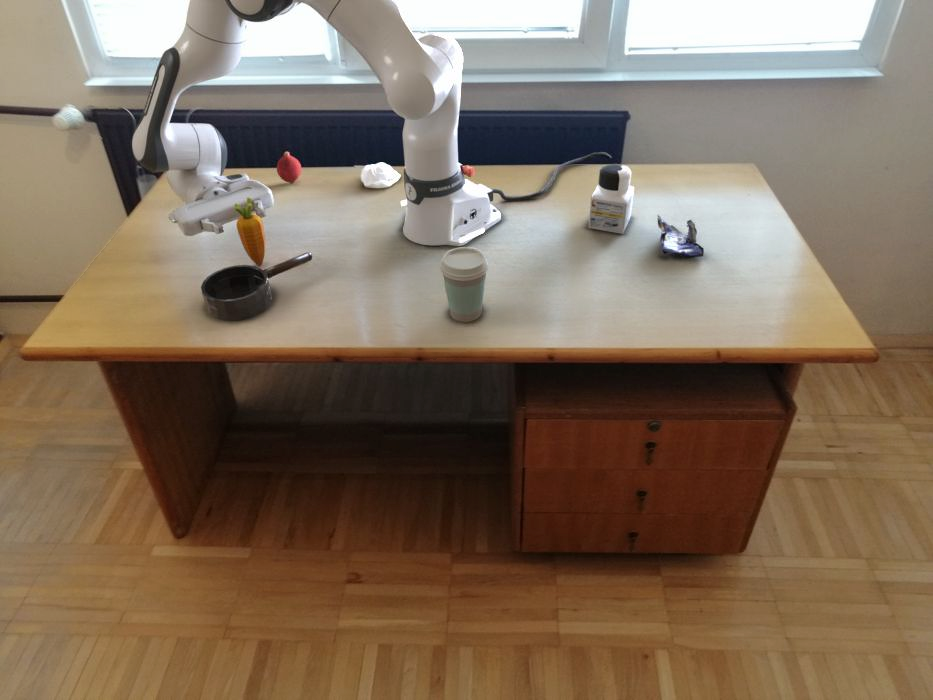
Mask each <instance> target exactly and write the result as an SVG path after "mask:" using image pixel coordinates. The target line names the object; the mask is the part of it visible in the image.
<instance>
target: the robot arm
mask: <svg viewBox="0 0 933 700" xmlns="http://www.w3.org/2000/svg"><path fill="white" fill-rule="evenodd" d="M300 4H304V5H307V6H308V7H310V8H312V9H313V10H314V11H315V12H316V13H317V14H318V15H320V17H322V18H323V19H324V21H326V23H328V24H329V25H330V26H331V28H333V29H334V30H335V31H336V32H337V33H338V34H339V35H340V36H341V37H342V38H343V39H344V40H345V41H346V42H347V43H349V44H350V46H352V47H353V48H354V49H355V51H356V52H358V54H359V55H360V56H361V57H362V58H363V60H364V61H365V62H366V64H367V65H368V67H369V68H370V69H371V71H372V72H373V73H374V75H375V76H376V78H377V80H378V81H379V83H380V85H381V86H382V88H383V91H384V93H385V98H386V100H387V103H388V106H389V107H390V108H391V110H392V111H393V112H394V113H395V114H397V116H399V117H401V118H403V119H404V124H403V129H402V147H403V158H404V160H403V161H404V169H403V184H404V192H405V197H406V199H404V200H401V201H400V205H401V207H403V206H405V216H404V222H403V226H402V234H403V236H404V237H405V238H406V239H408V240H409V241H411V242H413V243H416V244H417V245H418V244H419V245H422V246H423V245H424V246H453V247H463V246H464V245H466V244H467V243H469V242H470V241H472V240H473V239H475V238H477V237H478V236H479V235H481V234H484V233H485V231H487V230H488V229H490V228H491V227H493V226H494V225H495V224H497V223H499V222H500V221H502V214H501V212H500V211H499V209H498V208H496V207H495V206H494V205H492V204H491V202H493V201H494V194H498V195H499V196H500V198H501V199H502V200H504V201H511V202H512V201H526V200H531V199H535V198H538V197H540V196H542V195H543V194H545V193H547V191H548V190H549V189H550V187H551V186H552V184H553V183H554V181H555V180H556V177H557V174H558V173H559V172H560V171H561V170H562V169H564V168H566V167H569V166H570V165H571V166H572V165H575V164H577V163H582V162H584V161H586V160H589V159H592V158H595V157H605V158H607V159H612V156H611V155H610V154H609V153H607V152H603V151H598V152H593V153H590V154H588V155H584V156H582V157H579V158H576V159H575V158H574V159H572V160H569V161H566V162H563V163H562V164H560V165H559V166H557V167H556V168H555V169H554V171H553V172H552V175H551V177H550V179H549V180H548V182H547V183H546V185H545V186H544V187H543V189H541V190H540V191H537V192H534V193H531V194H527V195H522V196H509V195H505V193H504V192H503V190H501V189H498V188H489V187H487V186H486V185H483V184H482V183H478V184H476V183H474V182H472V181H471V180H469V179H467V178H466V177H465V176H467V177H468V178H472V177H473V176H474V175H475V171H476V170H475V169H474V167H471V166H469V165H464V166H463V164H462V163H460V162H459V150H458V149H459V146H458V145H459V144H458V142H459V141H458V128H459V116H460V106H461V92H462V72H463V63H464V55H463V52H462V48H461V47H460V45H459V43H458V42H457V41H456V39H455V38H453V37H452V36H450V35H449V34H446V33H442V32H434V33H429V34H426V35H424V36H421V37H420V38H417V37H416V35H415V34H414V33H413V31H412V30H411V28H410V27H409V25H408V24H407V21H406V20H405V17H403V13H402V10H401V7H400V6H399V5H398V3H397V2H396V1H394V0H189V3H188V7H187V12H186V18H185V19H186V20H185V24H184V27H183V32H182V33H181V34H180V37H178V39H177V41H176V42H175V43H174V45H172V47H170V48H168V49H166V50H165V51H164V52H163V53H162V55H161V57H160V59H159V61H158V65H157V68H156V70H155V73H154V76H153V79H152V82H151V85H150V88H149V92H148V96H147V98H146V102H145V104H144V107H143V111H142V115H141V117H140V120H139V121H138V123H137V125H136V126H135V129H134V130H133V133H132V138H131V148H132V154H133V158H134V159H135V160H136V162H138V164H140V165H141V167H143V168H144V169H146V170H147V171H149V172H151V173H162V172H166V179H167V182H168V184H169V186H170V189H171V190H172V191H173V193H174V194H175V195H176V196H177V198H178V199H180V200H181V201H182V202H183V203H185V204H183V205H180V206H178V207H176V208H175V209H174V210H172V212H170V214H168V219H169V221H171V222H172V223H173V224H177V226H178V229H179V230H180V231H181V233H182V234H183V235H184V236H186V237H193V236H196V235H198V234H202V233H203V232H207V233H215V234H216V235H220V234H222V233H224V232H225V229H224V226H223V225H225V224H226V225H227V224H228V223H231V222H233V221H238V218H239V217H241V216H242V215H241V214H240V213H239V212H238V211H237V210H235V203H236V204H238V205H239V206H240V207H241V209H242V210H243V207H244V208H245V210H246V206H247V197H250V198H251V201H252V208H251V214H255V215H257V216H259V217H260V218H261V219H262V218H265V217H267V213H266V209H270V208H272V207H274V203H275V201H274V196H273V192H272V190H271V188H270V187H268V186H266V184H264V183H262V182H261V181H258V180H256V179H252V178H251V179H250V178H249V176H248V174H246V173H244V172H243V173H237V174H230V175H223V174H224V171H225V170H226V167H227V163H228V146H227V143H226V140H225V139H224V137H223V135H222V134H221V132H220V131H219V130H218V129H217V128H216V127H215V126H214V125H212V124H211V123H202V122H201V123H198V122H197V123H196V122H188V123H187V122H186V123H185V122H171V120H172V119H171V118H172V116H173V113H174V110H175V107H176V104H177V101H178V99H179V97H180V95H181V94H182V93H183V92H184V91H186V90H187V89H188V88H191V87H192V86H195V85H198V84H200V83H204V82H207V81H211V80H215V79H219V78H222V77H224V76H227V75H228V74H230V73H231V72H233V71H234V70H235V69H237V67H238V65H239V64H240V62H241V59H242V57H243V54H244V50H245V44H246V40H247V39H246V38H247V33H248V28H249V23H250V22H251V23H262V22H263V23H264V22H268V21H271V20H272V19H274V18H276V17H279V16H283V15H285V14H287V13H288V12H290V11H291V10H293V9H294V8H295V7H297V6H299V5H300ZM243 212H244V211H243Z"/></svg>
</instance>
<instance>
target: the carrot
mask: <svg viewBox="0 0 933 700" xmlns="http://www.w3.org/2000/svg"><path fill="white" fill-rule="evenodd" d="M251 208H252V201H251V198H250V197H247V206H246V210H245V208H244V207H243V210H242V209H241V207H240V206H239V205H238V204H236V203H235V210H237V211H238V212H239V213H240V214H241V215H242V216H241V217H239V218H238V219H237V220H236V228H237V231H238V236H239V239H240V242H241V244H242V246H243V248H244V250H245V253H246V254H247V256H248V257H249V258H250V260H251V261H252V262H253V263H254V264H255V265H256V266H257V267H261V266H262V265H263V263H264V260H265V254H266V235H265V230H264V225H263V224H264V223H263V220H262V218H260V217H259V216H257V215H256V213H253V214H251ZM243 211H244V212H243Z"/></svg>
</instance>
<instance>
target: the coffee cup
mask: <svg viewBox="0 0 933 700" xmlns="http://www.w3.org/2000/svg"><path fill="white" fill-rule="evenodd" d="M439 270H440V272H441V274H442V277H443V282H444V288H445V293H446V298H447V304H448V309H449V315H450V317H451V318H452V319H453V320H455V321H457V322H461V323H468V322H473V321H475V320H478V319H479V318H480V317H481V315H482V311H483V302H484V294H485V287H486V286H485V285H486V278H487V272H488V270H489V264H488V260H487V258H486V255H485V254H484V252H483V251H482V250H480V249H478V248H474V247H470V246H458V247H455V248H451V249H449V250H447V251H446V252H445V253H444V254H443V257H442V260H441V262H440V266H439Z"/></svg>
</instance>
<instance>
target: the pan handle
mask: <svg viewBox="0 0 933 700" xmlns="http://www.w3.org/2000/svg"><path fill="white" fill-rule="evenodd" d="M312 259H313V254H312V253H311V252H309V251H307V252H304V253H302V254H299V255H297V256H295V257H292V258H290V259H287V260H284V261H282V262H280V263H277V264H275V265H273V266H270V267H268V268H264V269H262V270H263V271H265V272H266V274H267V277H268V280H270V279H271V278H273V277H275V276H278V275H280V274H282V273H284V272H288V271H290V270H292V269H294V268H297V267H299V266H301V265H304V264H306V263H309V262H311V261H312ZM259 273H260V272H259ZM260 274H261V273H260ZM260 277H262V276H261V275H260ZM262 278H263V277H262Z"/></svg>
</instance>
